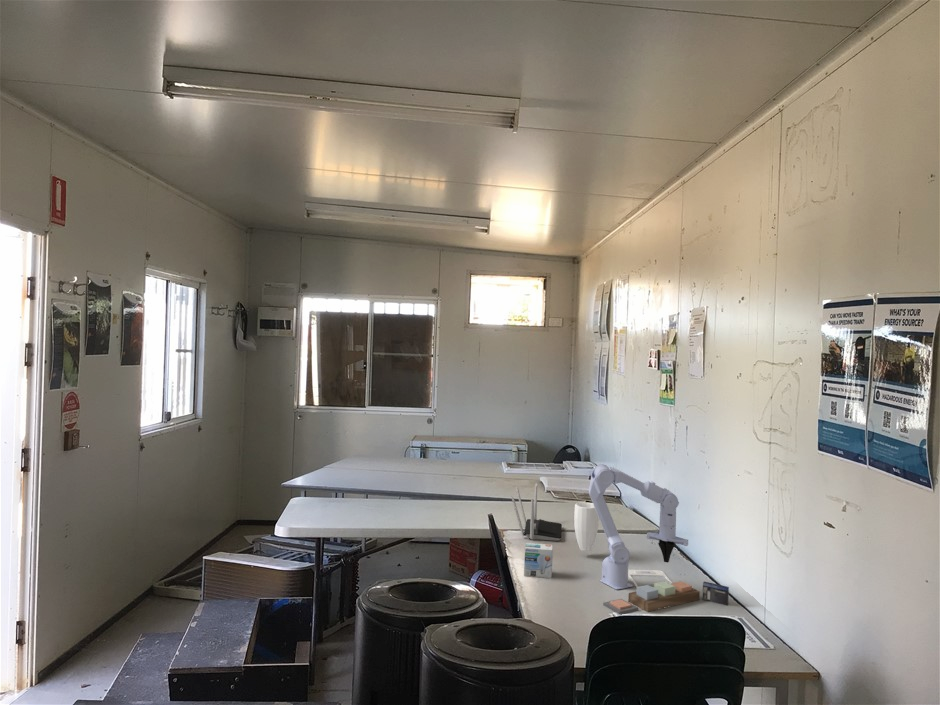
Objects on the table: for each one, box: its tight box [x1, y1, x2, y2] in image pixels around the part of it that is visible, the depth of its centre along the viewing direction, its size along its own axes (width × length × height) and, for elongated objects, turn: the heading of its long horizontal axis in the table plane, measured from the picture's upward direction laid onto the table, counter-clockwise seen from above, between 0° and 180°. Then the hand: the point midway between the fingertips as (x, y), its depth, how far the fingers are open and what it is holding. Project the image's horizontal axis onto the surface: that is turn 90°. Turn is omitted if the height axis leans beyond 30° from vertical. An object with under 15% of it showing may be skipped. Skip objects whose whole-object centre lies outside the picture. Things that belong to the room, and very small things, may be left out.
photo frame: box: [628, 569, 673, 589], centre depth 232 cm, size 15×1×18 cm
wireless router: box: [511, 482, 563, 542], centre depth 287 cm, size 34×23×20 cm
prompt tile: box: [602, 598, 639, 615], centre depth 205 cm, size 8×8×1 cm
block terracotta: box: [671, 580, 693, 593], centre depth 216 cm, size 5×5×4 cm
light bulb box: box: [523, 542, 554, 579], centre depth 234 cm, size 11×7×11 cm, turn 82°
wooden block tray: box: [627, 587, 701, 613], centre depth 212 cm, size 9×24×3 cm, turn 118°
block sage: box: [653, 580, 675, 596], centre depth 212 cm, size 5×5×4 cm
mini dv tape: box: [701, 581, 730, 606], centre depth 212 cm, size 8×2×6 cm, turn 56°
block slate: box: [636, 584, 658, 600], centre depth 208 cm, size 5×5×4 cm
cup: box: [573, 501, 600, 552], centre depth 256 cm, size 10×10×22 cm
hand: (666, 561), depth 224 cm, fingers closed
